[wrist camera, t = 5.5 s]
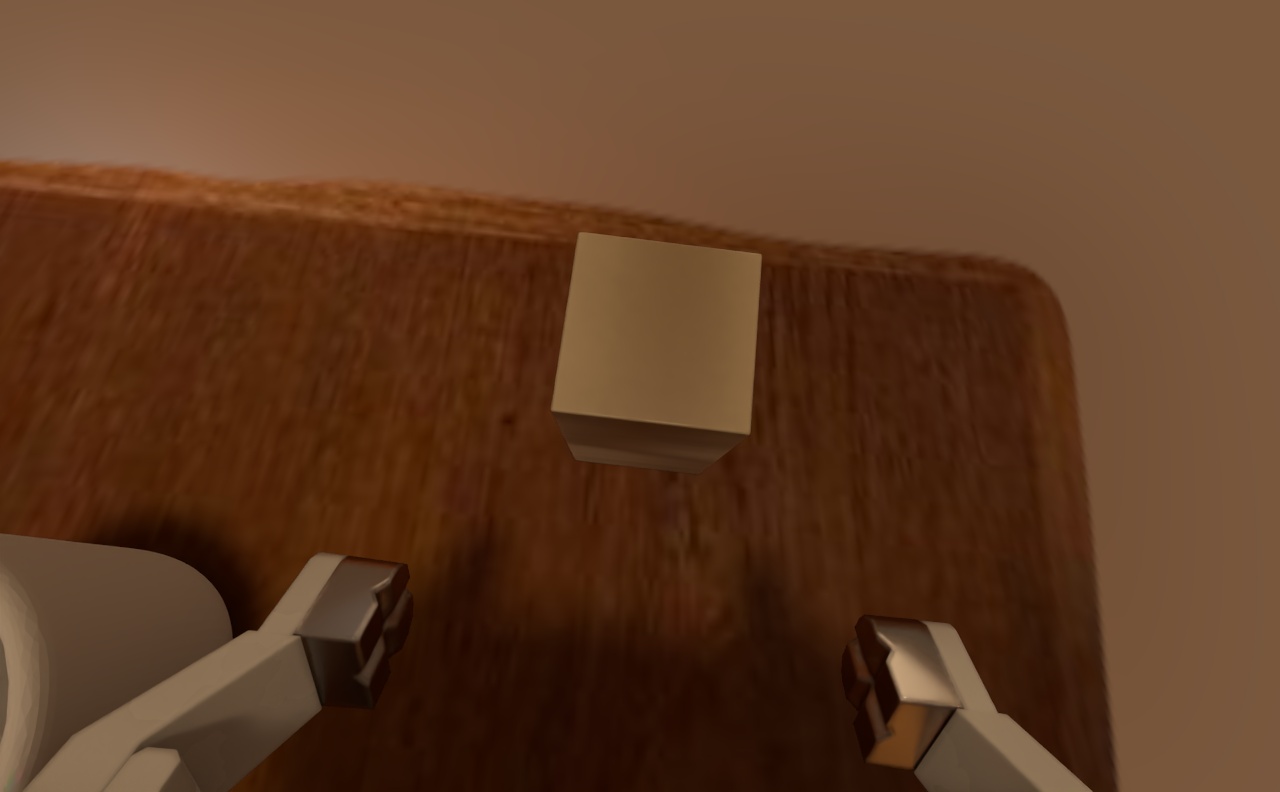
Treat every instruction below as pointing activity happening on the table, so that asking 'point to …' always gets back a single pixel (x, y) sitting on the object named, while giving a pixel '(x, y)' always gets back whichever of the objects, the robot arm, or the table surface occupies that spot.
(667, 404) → the plain beige block
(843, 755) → the table surface
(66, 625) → the cup
